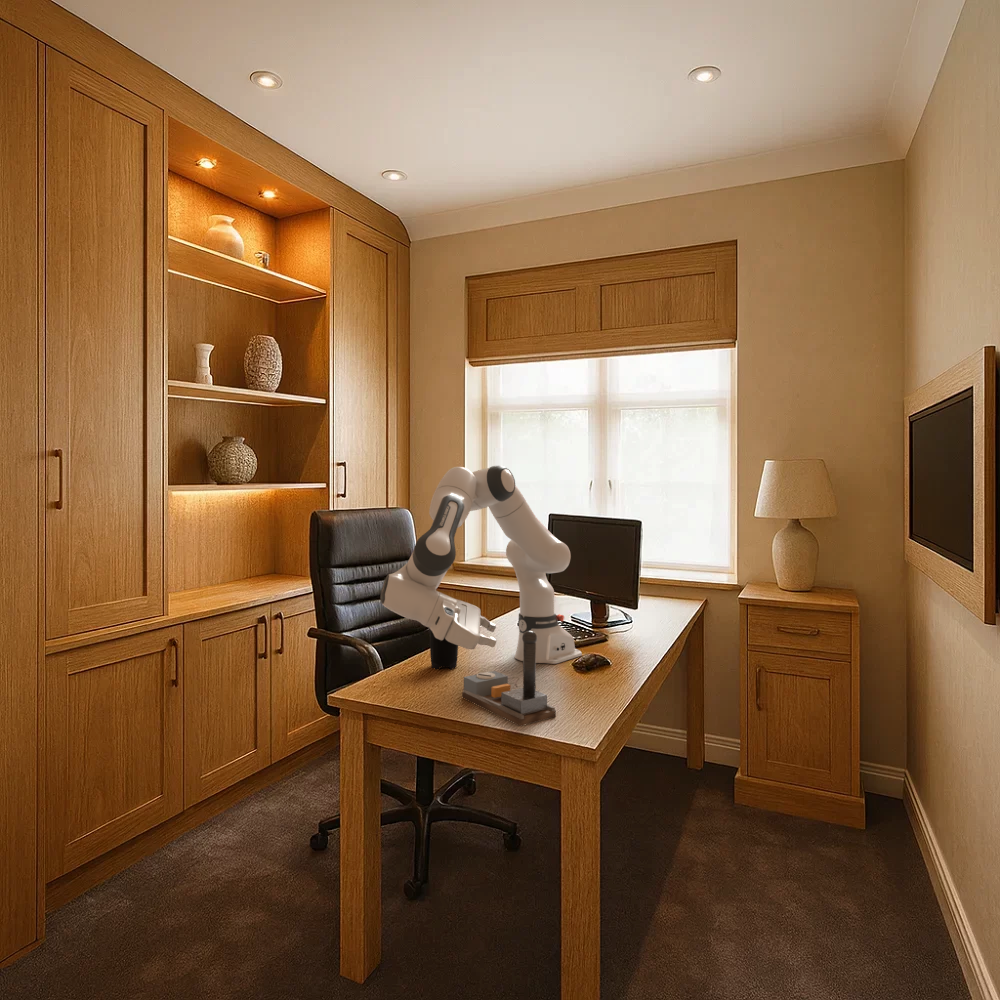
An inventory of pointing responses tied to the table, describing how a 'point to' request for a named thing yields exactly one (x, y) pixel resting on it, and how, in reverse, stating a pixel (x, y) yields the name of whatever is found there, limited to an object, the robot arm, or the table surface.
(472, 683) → the gauge cabinet
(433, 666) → the portable speaker
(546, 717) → the rail board
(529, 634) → the carriage
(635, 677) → the table surface
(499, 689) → the button
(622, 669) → the table surface
